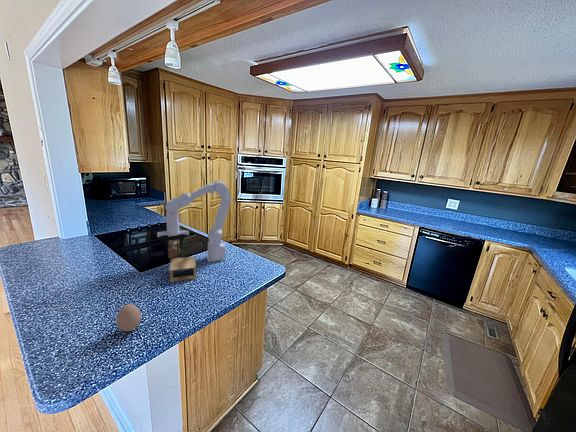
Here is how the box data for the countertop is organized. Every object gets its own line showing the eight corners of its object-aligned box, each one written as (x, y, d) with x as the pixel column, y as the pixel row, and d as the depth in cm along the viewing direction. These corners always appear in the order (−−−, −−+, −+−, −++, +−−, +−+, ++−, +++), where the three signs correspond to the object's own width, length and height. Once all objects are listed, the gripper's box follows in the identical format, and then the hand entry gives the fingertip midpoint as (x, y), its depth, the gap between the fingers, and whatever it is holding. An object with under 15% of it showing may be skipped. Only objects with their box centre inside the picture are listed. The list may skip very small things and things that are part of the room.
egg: (116, 328, 77) (112, 304, 75) (138, 319, 82) (136, 297, 80) (120, 340, 73) (117, 315, 71) (144, 330, 77) (142, 306, 75)
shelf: (195, 267, 121) (194, 256, 120) (196, 278, 111) (195, 267, 109) (171, 269, 117) (171, 258, 115) (170, 281, 106) (169, 269, 105)
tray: (180, 247, 129) (179, 239, 128) (179, 257, 118) (179, 248, 117) (169, 248, 127) (169, 240, 126) (168, 258, 116) (167, 249, 115)
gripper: (188, 220, 125) (189, 244, 128) (157, 222, 119) (159, 246, 123) (188, 224, 119) (189, 249, 122) (156, 226, 113) (158, 252, 116)
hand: (174, 248), depth 122 cm, fingers closed on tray, 5 cm apart
